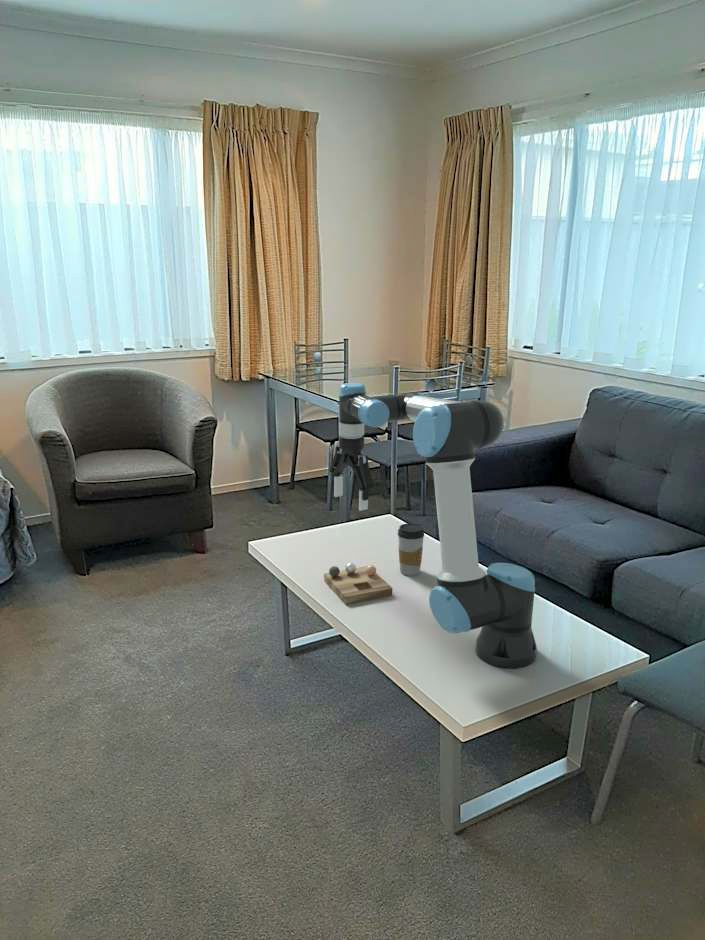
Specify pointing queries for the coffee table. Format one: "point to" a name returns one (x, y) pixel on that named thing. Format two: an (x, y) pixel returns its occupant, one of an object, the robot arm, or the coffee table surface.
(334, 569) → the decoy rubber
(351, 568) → the steel ball
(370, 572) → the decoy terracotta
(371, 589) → the wooden flat board
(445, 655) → the coffee table surface
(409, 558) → the coffee cup
